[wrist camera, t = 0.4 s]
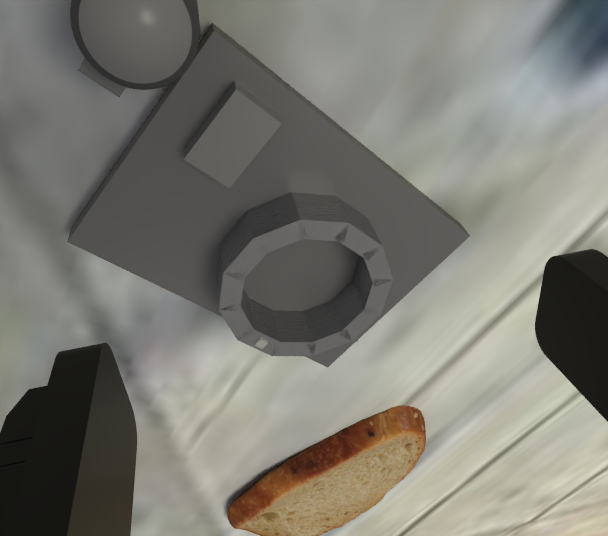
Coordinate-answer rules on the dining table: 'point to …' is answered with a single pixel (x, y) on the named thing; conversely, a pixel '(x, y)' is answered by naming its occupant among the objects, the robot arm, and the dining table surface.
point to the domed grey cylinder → (135, 41)
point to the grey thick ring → (320, 319)
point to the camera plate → (252, 191)
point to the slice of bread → (334, 477)
